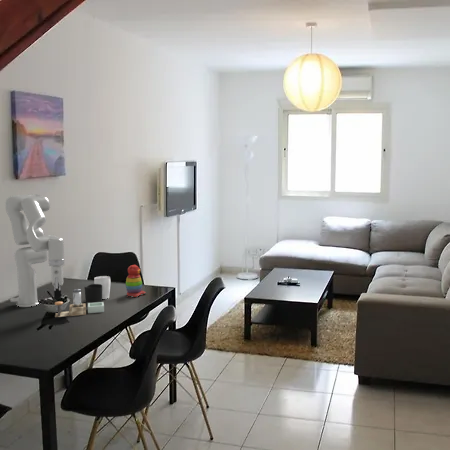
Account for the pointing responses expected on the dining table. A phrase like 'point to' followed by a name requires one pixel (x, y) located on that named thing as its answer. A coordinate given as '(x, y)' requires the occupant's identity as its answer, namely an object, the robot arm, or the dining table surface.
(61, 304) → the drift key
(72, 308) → the socket block
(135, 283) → the stacking bear
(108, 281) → the cup
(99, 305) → the mint green square tray
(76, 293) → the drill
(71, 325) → the dining table surface
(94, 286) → the pen holder
